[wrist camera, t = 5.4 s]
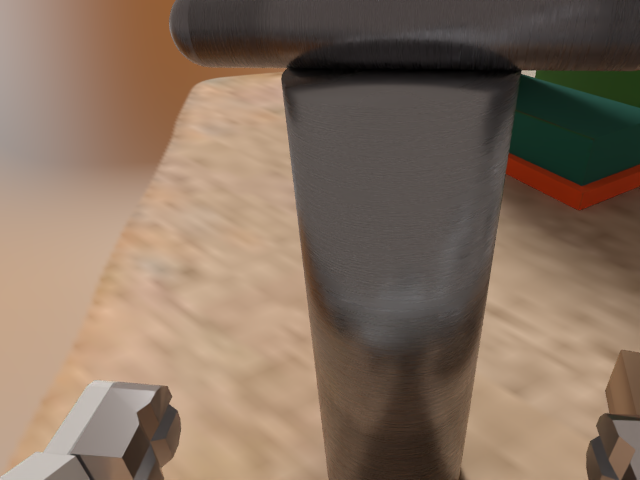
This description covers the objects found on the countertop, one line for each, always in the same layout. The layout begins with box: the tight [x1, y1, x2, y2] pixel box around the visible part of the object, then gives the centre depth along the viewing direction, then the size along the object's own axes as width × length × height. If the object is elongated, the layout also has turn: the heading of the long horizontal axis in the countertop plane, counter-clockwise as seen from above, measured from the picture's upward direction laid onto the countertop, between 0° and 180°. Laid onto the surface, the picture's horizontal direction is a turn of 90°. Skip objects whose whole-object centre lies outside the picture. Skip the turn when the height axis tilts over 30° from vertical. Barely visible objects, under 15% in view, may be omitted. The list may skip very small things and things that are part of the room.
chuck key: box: [169, 0, 640, 480], centre depth 11 cm, size 8×4×13 cm, turn 72°
